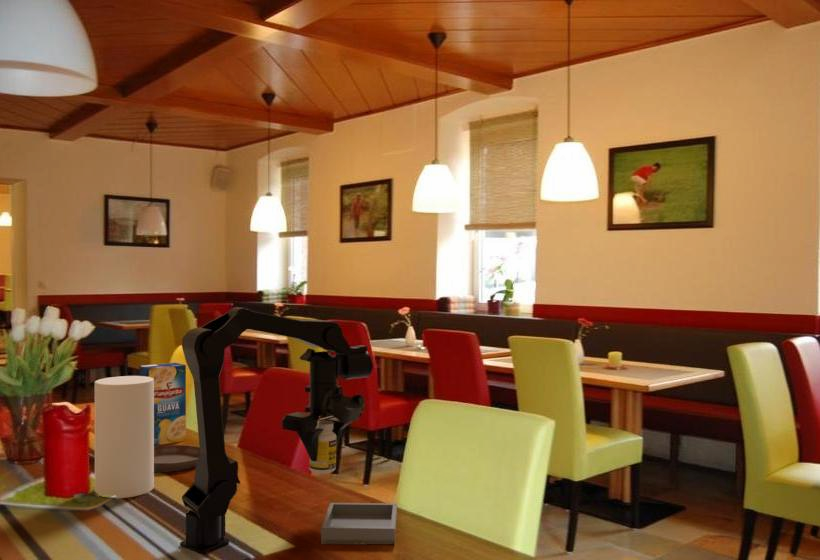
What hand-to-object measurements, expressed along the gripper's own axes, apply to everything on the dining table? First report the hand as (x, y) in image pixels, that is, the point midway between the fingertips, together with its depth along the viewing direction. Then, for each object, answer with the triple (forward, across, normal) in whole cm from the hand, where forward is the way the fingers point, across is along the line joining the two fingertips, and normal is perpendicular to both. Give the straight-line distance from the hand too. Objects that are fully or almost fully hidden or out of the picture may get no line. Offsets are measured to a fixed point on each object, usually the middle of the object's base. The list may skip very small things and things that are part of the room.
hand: (323, 457), depth 144 cm
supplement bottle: (+3, 0, 0) cm, 3 cm away
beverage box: (+12, +20, +77) cm, 81 cm away
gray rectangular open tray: (+12, -2, -11) cm, 16 cm away
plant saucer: (+13, +7, +57) cm, 58 cm away
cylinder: (+12, -12, +48) cm, 51 cm away
